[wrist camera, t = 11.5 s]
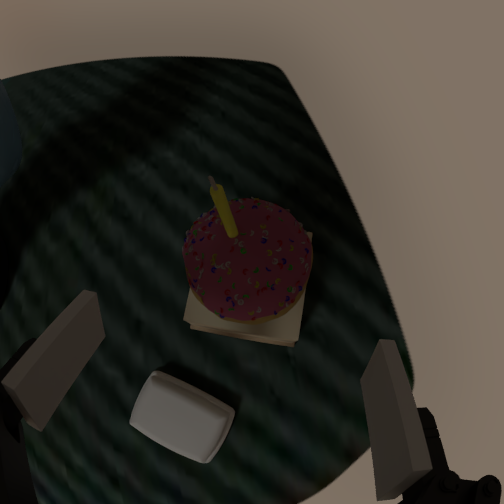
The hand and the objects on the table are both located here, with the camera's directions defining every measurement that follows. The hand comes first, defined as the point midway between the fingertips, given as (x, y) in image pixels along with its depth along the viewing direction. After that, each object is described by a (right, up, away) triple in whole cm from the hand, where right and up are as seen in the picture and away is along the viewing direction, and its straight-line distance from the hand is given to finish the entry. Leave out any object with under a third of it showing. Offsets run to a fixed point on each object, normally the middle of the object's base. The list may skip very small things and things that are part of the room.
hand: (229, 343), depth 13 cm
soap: (-6, -12, +13) cm, 18 cm away
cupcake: (+1, +2, +12) cm, 12 cm away
